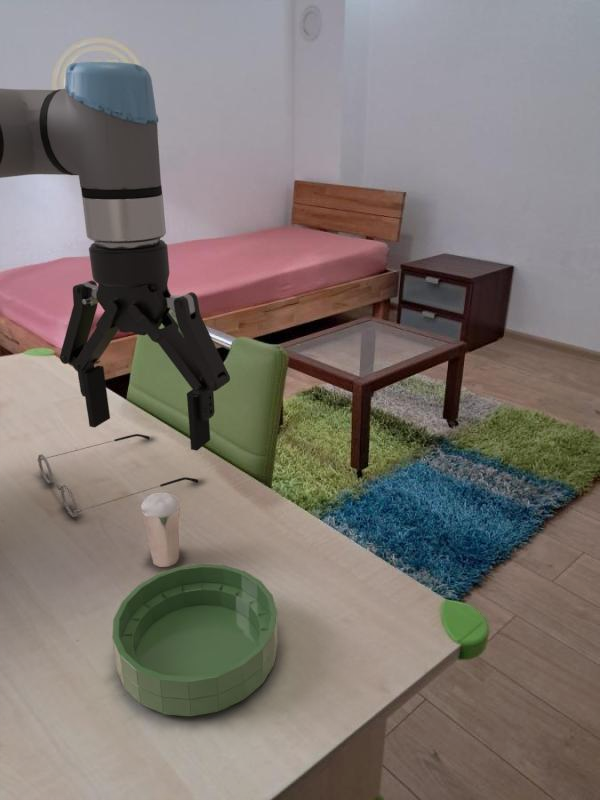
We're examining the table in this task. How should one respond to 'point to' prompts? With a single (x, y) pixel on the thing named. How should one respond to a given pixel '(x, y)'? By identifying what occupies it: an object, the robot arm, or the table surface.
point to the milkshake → (162, 527)
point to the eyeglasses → (76, 511)
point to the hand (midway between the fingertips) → (148, 433)
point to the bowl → (195, 639)
